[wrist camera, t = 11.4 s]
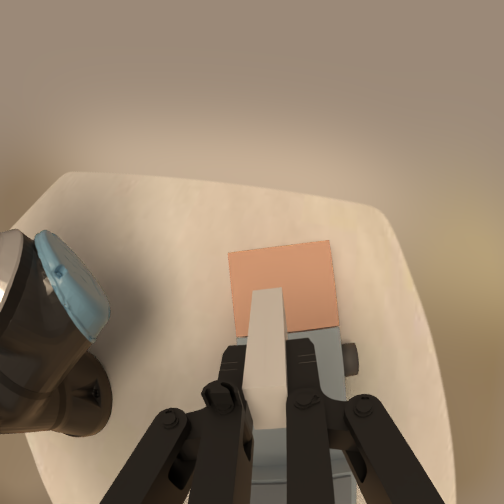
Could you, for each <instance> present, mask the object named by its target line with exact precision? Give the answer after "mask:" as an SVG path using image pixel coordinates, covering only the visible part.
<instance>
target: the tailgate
mask: <svg viewBox="0 0 504 504" xmlns="http://www.w3.org/2000/svg"><path fill="white" fill-rule="evenodd" d="M228 260H229V270H230V280H231V289H232V299H233V308H234V318H235V327H236V336H237V337H246V336H248V329H249V320H250V311H251V301H252V292H253V290H262V289H271V288H279V287H282V292H283V300H284V307H285V315H286V323H287V332H296V331H305V330H313V329H321V328H328V327H335V326H339V319H338V309H337V300H336V291H335V282H334V274H333V266H332V258H331V251H330V244H329V240H326V241H318V242H310V243H302V244H294V245H286V246H279V247H271V248H263V249H255V250H247V251H239V252H231V253H228Z"/></svg>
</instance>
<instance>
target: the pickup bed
mask: <svg viewBox="0 0 504 504" xmlns="http://www.w3.org/2000/svg"><path fill="white" fill-rule="evenodd" d="M247 338H248V337H246V338H237V345H247ZM300 338H309V339H310V340H311V342H312V343H313V344H314V347H315V354H316V360H317V367H318V373H319V380H320V387H321V390H322V392H323V393H324V394H325V395H326V396H327V397H329V398H331V399H334V400H339V401H347V400H346V388H345V377H347V376H353V375H358V371H359V361H358V353H357V348H356V345H355V343H350V344H343V345H341V338H340V329H339V327H336V328H329V329H321V330H314V331H306V332H297V333H288V340H291V339H300ZM252 434H253V438H254V453H253V468H252V483H251V497H250V504H287V451H286V428H277V429H260V430H255V429H254V426H253V430H252ZM330 457H331V466H332V476H333V487H334V498H335V504H356V480H355V477H354V475H353V473H352V471H351V469H350V467H349V465H348V463H347V460H346V458H345V456H344V454H343V452H342V450H337V449H330Z"/></svg>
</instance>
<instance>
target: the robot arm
mask: <svg viewBox="0 0 504 504" xmlns="http://www.w3.org/2000/svg"><path fill="white" fill-rule="evenodd" d="M110 312H111V310H110V304H109V301H108V299H107V297H106V295H105V293H104V291H103V290H102V288H101V287H100V285H99V284H98V282H97V281H96V279H95V278H94V277H93V275H92V274H91V273H90V271H89V270H88V269H87V268H86V266H85V265H84V264H83V263H82V261H81V260H80V259H79V258H78V257H77V256H76V254H75V253H74V252H73V251H72V250H71V249H70V248H69V247H68V246H67V245H66V244H65V243H64V242H63V241H62V240H61V239H60V238H59V237H58V236H56V235H55V234H53V233H51V232H50V231H48V230H43V231H41V232H40V233H38V234H36V236H35V239H34V240H32V239H30V238H28V237H27V236H26V235H25V234H23V233H22V232H21V231H19V230H18V229H12V230H9V231H5V232H2V233H0V434H12V433H27V432H39V431H49V430H52V431H55V432H59V433H64V434H66V435H68V436H72V437H86V436H91V435H94V434H96V433H98V432H99V431H101V430H102V429H103V427H104V426H105V425H106V423H107V421H108V419H109V416H110V412H111V406H112V396H111V388H110V384H109V380H108V378H107V375H106V373H105V371H104V369H103V367H102V366H101V364H100V363H99V361H98V360H97V359H96V358H95V357H94V356H93V355H92V354H91V353H89V352H88V351H87V349H88V348H89V347H90V346H91V344H92V343H95V341H96V337H97V336H98V334H99V333H100V331H101V330H102V329H103V327H104V326H105V325H106V323H107V322H108V320H109V318H110ZM201 395H202V397H203V399H204V402H205V404H206V406H207V407H205V408H203V409H201V410H198V411H194V412H190V413H186V414H185V413H184V411H183V410H180V409H178V408H169V409H165V410H163V411H161V412H160V413H159V414H158V415H157V416H156V417H155V419H154V420H153V422H152V423H151V425H150V426H149V428H148V429H147V431H146V433H145V434H144V436H143V437H142V439H141V440H140V442H139V443H138V445H137V447H136V448H135V450H134V451H133V453H132V454H131V456H130V457H129V459H128V460H127V462H126V464H125V465H124V467H123V468H122V470H121V471H120V473H119V474H118V476H117V477H116V479H115V481H114V482H113V484H112V485H111V487H110V488H109V490H108V491H107V493H106V494H105V496H104V497H103V499H102V500H101V502H100V504H183V503H184V501H185V499H186V497H187V495H188V493H189V491H190V495H189V501H188V504H250V497H251V483H252V468H253V453H254V438H253V434H252V430H253V426H254V429H255V430H260V429H277V428H286V451H287V504H335V498H334V487H333V476H332V466H331V457H330V449H337V450H342V452H343V454H344V456H345V458H346V460H347V463H348V465H349V467H350V469H351V471H352V473H353V475H354V477H355V480H356V482H357V484H358V486H359V488H360V490H361V492H362V494H363V497H364V499H365V501H366V503H367V504H445V503H444V501H443V500H442V498H441V496H440V495H439V493H438V492H437V490H436V488H435V487H434V485H433V483H432V482H431V480H430V479H429V477H428V475H427V474H426V472H425V470H424V469H423V467H422V466H421V464H420V462H419V461H418V459H417V458H416V456H415V455H414V453H413V451H412V450H411V448H410V447H409V445H408V443H407V442H406V440H405V439H404V437H403V436H402V434H401V432H400V431H399V429H398V428H397V426H396V425H395V423H394V422H393V420H392V418H391V417H390V415H389V414H388V412H387V411H386V409H385V408H384V406H383V405H382V403H381V402H380V401H379V400H378V399H377V398H376V397H374V396H372V395H369V394H361V395H356V396H354V397H352V398H351V399H349V401H339V400H334V399H331V398H329V397H327V396H326V395H325V394H324V393H323V392H322V390H321V387H320V380H319V373H318V367H317V360H316V354H315V347H314V344H313V343H312V342H311V340H310V339H309V338H300V339H291V340H288V332H287V323H286V315H285V307H284V300H283V292H282V287H279V288H271V289H262V290H253V292H252V301H251V311H250V320H249V329H248V338H247V345H234V346H228V348H227V349H226V350H225V352H224V353H223V356H222V361H221V366H220V371H219V377H218V380H216V381H213V382H211V383H209V384H208V385H206V386H205V387H204V388H203V390H202V392H201ZM190 489H191V490H190Z"/></svg>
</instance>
